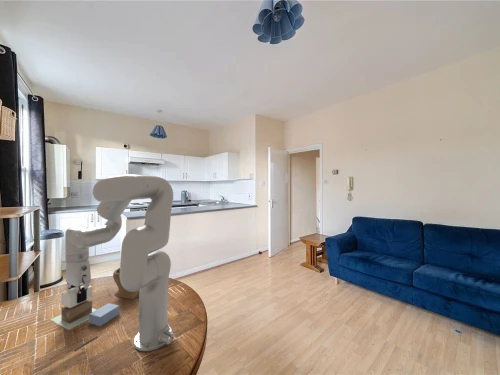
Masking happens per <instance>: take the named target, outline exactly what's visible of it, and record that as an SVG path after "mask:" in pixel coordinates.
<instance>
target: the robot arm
mask: <svg viewBox="0 0 500 375" xmlns="http://www.w3.org/2000/svg"><path fill="white" fill-rule="evenodd" d="M92 196H93V198H94V199H95V200H96V201H97V202H100V203H98V205H97V207H96V212H97V214H98V215H99V216H100V218H102V219H105V220H107V221H106V222H105V223H104V224H103V225H100V226H93V227H89V228H88V227H87V226H72V227H69V228H67V229H66V230H65V237H64V238H65V241H64V242H65V246H64V247H65V248H64V249H65V253H64V255H65V259H64V260H65V264H66V266H65V283H66V284H67V290H69V289H71V288H74V287H77V289H78V294H77V303H81V302H83V301H85V300H86V299H87V289H88V287H89V286H91V284H90V283H91V281H92V277H91V276H92V275H91V264H90V248H92V247H95V246H99V245H102V244H106V243H109V242H111V241H112V240H113V239H114V238H115V237H116V236H117V235H118V233H119V232H120V230H121V229H122V225H123V222H122V221H123V219H122V217H121V216H122V215H123V212H124V211H125V210H126V208H128V206H129V204H130V203H131V202H132V201H135V200H145V199H147V200H148V199H150V200H151V201H150V202H149V204H148V206H147V207H146V210H145V214H144V215H145V216H144V223H143V225H142V226H140V227H136V228H132V229H131V230H129V231H128V232H127V233H126V234H125V235H124V238H123V239H122V243H121V248H120V249H121V250H120V260H119V261H120V263H119V264H120V265H119V268H120V282H121V285H122V287H123V288H124V289H125V290H127V291H130V292H134V291H137V290H140V293H139V298H138V333H137V334H136V335H135V337H134V338H133V347H134V348H135V349H136V350H137V351H140V352H150V351H154V350H158V349H160V348H161V347H163V346H164V345H170V344H171V342H172V341H173V340H172V338H173V337H174V336H175V333H174V332H173V330H172V328H171V326H170V325H169V324H168V313H169V312H168V308H169V307H168V302H169V300H168V297H169V296H168V295H169V291H168V290H169V279H170V274H171V267H172V263H171V258H170V256H169V254H168V253H167V252H165V251H162V249H163V248H164V247H166V246H167V245H168V243H169V240H170V230H171V220H172V219H171V217H172V216H171V215H172V208H173V202H174V190H173V188H172V185H171V184H170V182H169V181H167V180H166V179H165V178H163V177H161V176H157V175H147V174H146V175H145V174H122V175H117V176H110V177H105V178H101V179H99V180H98V181H97V182H96V183H95V184H94V185H93V188H92ZM81 286H83V287H82V288H80V287H81Z"/></svg>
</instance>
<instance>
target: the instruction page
mask: <svg viewBox="0 0 500 375" xmlns="http://www.w3.org/2000/svg"><path fill="white" fill-rule="evenodd" d="M97 339H99V336H95V337H93V338H92V339H90V340H89V341H87V342H85V343H83V344H82V345H80V346H79V347H76V348H75V349H74V350H73V351H74V352H77V351H79V350H80V349H82V348H84V347H86V346H87V345H88V344H90V343H92V342H94V341H95V340H97Z"/></svg>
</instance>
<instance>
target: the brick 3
mask: <svg viewBox="0 0 500 375" xmlns="http://www.w3.org/2000/svg"><path fill="white" fill-rule="evenodd" d="M119 314H120V305H118V304H114V303H109V302H108V303H106V304H105V305H103V306H101V307H99V308H97V309H96V311H94V312H92V313H90V314H89V320H88V323H89V324H92V325H95V326H98V327H102V326H103V325H104V324H106V323H107V322H109V321H111V320H112V319H114V318H116V317H117V316H118V315H119Z"/></svg>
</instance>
